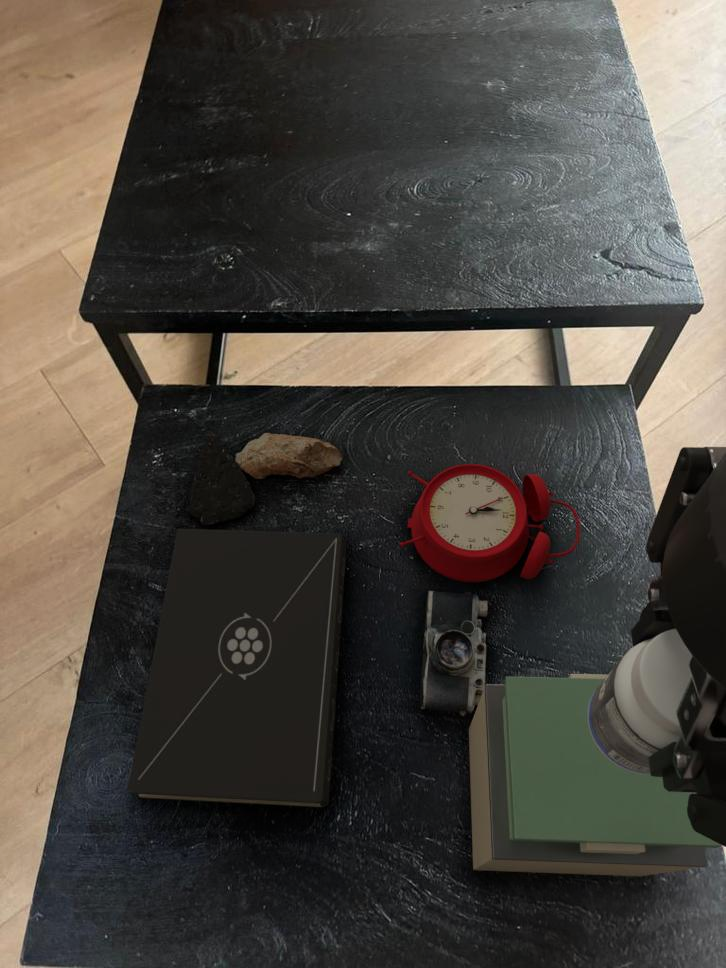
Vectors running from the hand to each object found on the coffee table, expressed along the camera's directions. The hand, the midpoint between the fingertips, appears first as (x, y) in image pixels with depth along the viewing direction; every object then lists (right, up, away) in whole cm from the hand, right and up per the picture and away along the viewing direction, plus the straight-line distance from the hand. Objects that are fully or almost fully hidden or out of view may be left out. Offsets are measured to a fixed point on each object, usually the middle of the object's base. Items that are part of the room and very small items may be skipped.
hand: (664, 701), depth 33 cm
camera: (-6, -5, +31) cm, 32 cm away
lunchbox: (+1, -8, +13) cm, 15 cm away
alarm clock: (-2, +5, +36) cm, 37 cm away
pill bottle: (0, -2, +4) cm, 5 cm away
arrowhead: (-26, +6, +37) cm, 45 cm away
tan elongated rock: (-20, +12, +41) cm, 47 cm away
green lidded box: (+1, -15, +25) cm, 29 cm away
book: (-22, -6, +31) cm, 39 cm away
